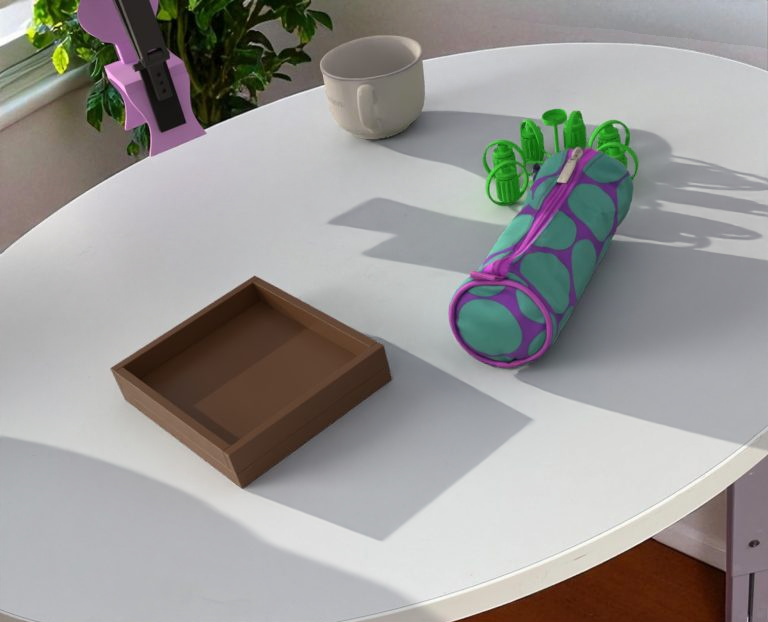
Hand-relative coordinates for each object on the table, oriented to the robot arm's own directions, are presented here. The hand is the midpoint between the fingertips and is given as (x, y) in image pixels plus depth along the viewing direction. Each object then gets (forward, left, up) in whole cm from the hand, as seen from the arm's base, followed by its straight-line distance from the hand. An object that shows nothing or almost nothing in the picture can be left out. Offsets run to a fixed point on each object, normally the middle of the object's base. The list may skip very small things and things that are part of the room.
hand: (159, 111), depth 109 cm
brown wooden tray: (+37, -7, -9) cm, 39 cm away
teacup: (+5, +21, -9) cm, 24 cm away
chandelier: (+28, +29, -9) cm, 42 cm away
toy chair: (0, 0, -3) cm, 3 cm away
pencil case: (+43, +18, -9) cm, 48 cm away
